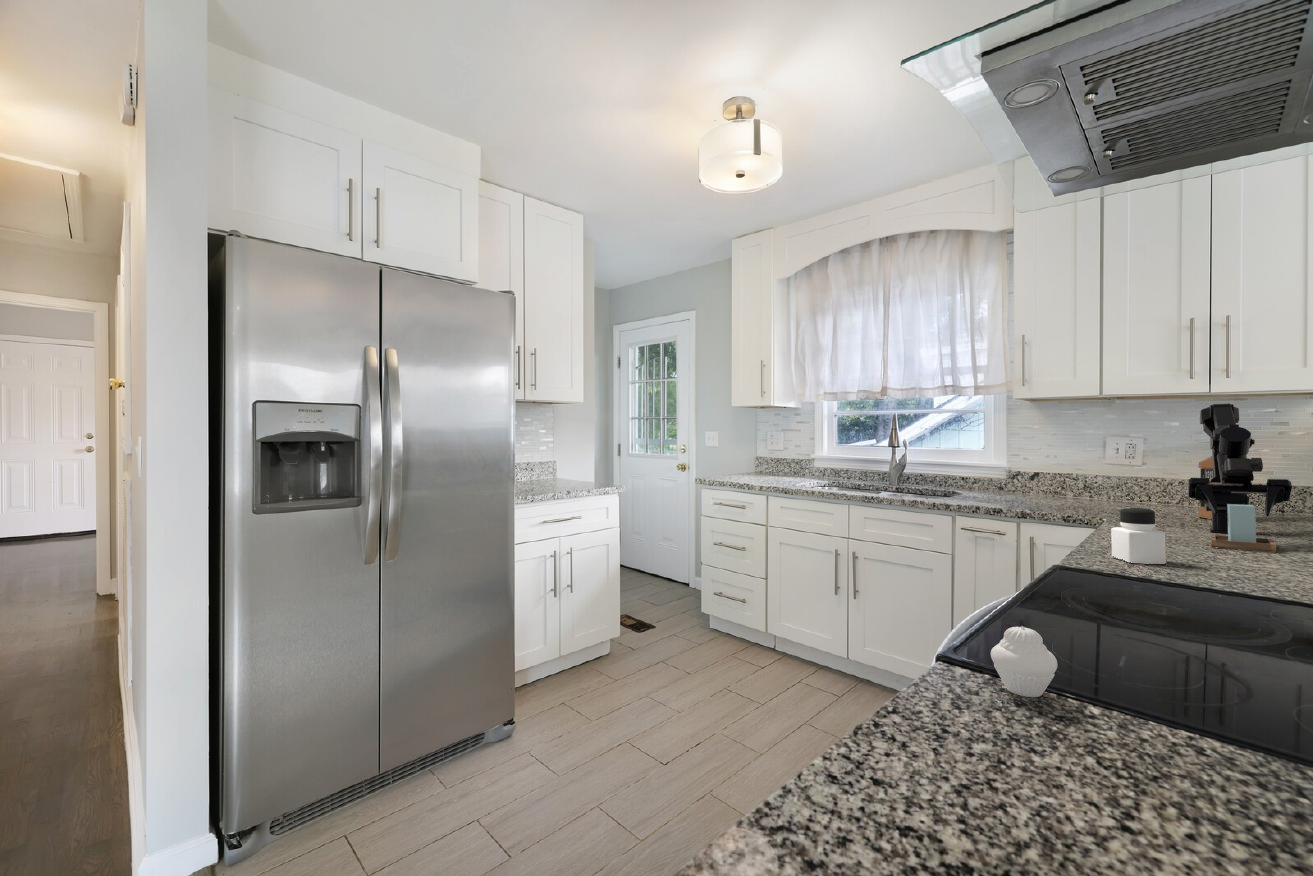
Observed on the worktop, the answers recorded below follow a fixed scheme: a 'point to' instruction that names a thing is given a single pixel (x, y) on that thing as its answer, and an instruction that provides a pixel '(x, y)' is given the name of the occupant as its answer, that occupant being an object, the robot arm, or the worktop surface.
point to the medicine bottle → (1138, 537)
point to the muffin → (1024, 662)
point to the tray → (1244, 544)
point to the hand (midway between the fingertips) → (1241, 514)
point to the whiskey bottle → (1208, 472)
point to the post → (1241, 523)
